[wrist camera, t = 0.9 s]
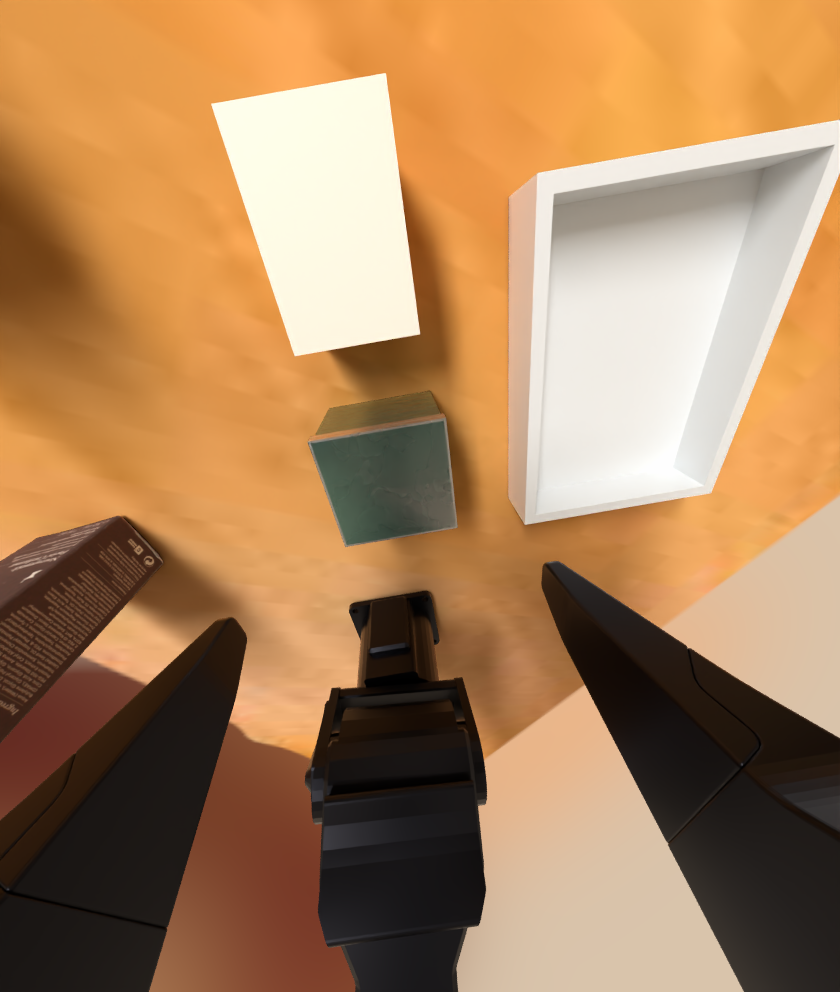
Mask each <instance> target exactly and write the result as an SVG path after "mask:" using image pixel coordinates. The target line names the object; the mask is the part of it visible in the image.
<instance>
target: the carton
mask: <svg viewBox="0 0 840 992" xmlns="http://www.w3.org/2000/svg"><path fill="white" fill-rule="evenodd" d="M211 105H212V108H213V111H214V114H215V117H216V120H217V123H218V126H219V129H220V132H221V135H222V138H223V141H224V144H225V147H226V150H227V153H228V156H229V159H230V162H231V165H232V168H233V171H234V174H235V177H236V180H237V183H238V186H239V189H240V192H241V195H242V198H243V201H244V204H245V207H246V210H247V213H248V216H249V219H250V222H251V225H252V228H253V231H254V235H255V238H256V241H257V244H258V247H259V250H260V253H261V256H262V259H263V262H264V265H265V268H266V271H267V274H268V277H269V280H270V283H271V286H272V289H273V292H274V295H275V298H276V301H277V304H278V307H279V310H280V313H281V316H282V319H283V322H284V325H285V328H286V331H287V334H288V337H289V340H290V343H291V346H292V349H293V352H294V355H295V356H298V355H304V354H310V353H315V352H321V351H327V350H333V349H338V348H344V347H350V346H356V345H361V344H367V343H373V342H379V341H384V340H390V339H396V338H402V337H407V336H413V335H419V334H420V330H419V322H418V314H417V307H416V299H415V292H414V284H413V276H412V269H411V261H410V254H409V246H408V239H407V231H406V223H405V216H404V208H403V201H402V193H401V185H400V178H399V170H398V163H397V155H396V147H395V140H394V132H393V125H392V117H391V109H390V102H389V94H388V87H387V79H386V73H384V74H378V75H372V76H367V77H361V78H355V79H350V80H344V81H338V82H333V83H327V84H322V85H316V86H310V87H305V88H299V89H293V90H288V91H282V92H276V93H271V94H265V95H259V96H254V97H248V98H242V99H237V100H231V101H225V102H220V103H214V104H211Z"/></svg>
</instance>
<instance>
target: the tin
mask: <svg viewBox="0 0 840 992" xmlns="http://www.w3.org/2000/svg"><path fill="white" fill-rule="evenodd" d="M308 444H309V447H310V450H311V453H312V455H313V458H314V461H315V464H316V467H317V469H318V472H319V475H320V478H321V480H322V483H323V486H324V489H325V492H326V494H327V497H328V500H329V503H330V505H331V508H332V511H333V514H334V517H335V519H336V522H337V525H338V528H339V530H340V533H341V536H342V539H343V542H344V544H345V547H348V546H354V545H360V544H365V543H371V542H377V541H383V540H389V539H395V538H401V537H407V536H412V535H418V534H424V533H430V532H436V531H442V530H448V529H453V528H458V526H457V517H456V508H455V498H454V489H453V479H452V470H451V460H450V451H449V441H448V432H447V422H446V417H445V415H444V413H443V414H441V413H440V411H439V409H438V407H437V405H436V402H435V400H434V398H433V396H432V394H431V392H430V391H426V392H420V393H415V394H409V395H403V396H397V397H391V398H386V399H380V400H374V401H368V402H363V403H357V404H351V405H345V406H339V407H334V408H329V410H328V412H327V414H326V416H325V418H324V419H323V421H322V423H321V425H320V427H319V429H318V431H317V433H316V435H315V436H310V438H309V440H308Z"/></svg>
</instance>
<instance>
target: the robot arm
mask: <svg viewBox="0 0 840 992" xmlns="http://www.w3.org/2000/svg"><path fill="white" fill-rule="evenodd" d="M541 584H542V589H543V592H544V595H545V597H546V600H547V603H548V605H549V608H550V610H551V613H552V615H553V618H554V621H555V623H556V626H557V628H558V631H559V633H560V636H561V638H562V641H563V643H564V645H565V647H566V649H567V651H568V653H569V655H570V657H571V659H572V661H573V662H574V664H575V666H576V668H577V670H578V672H579V674H580V676H581V678H582V680H583V682H584V684H585V686H586V688H587V689H588V691H589V693H590V695H591V697H592V699H593V701H594V703H595V705H596V706H597V709H598V710H599V712H600V715H601V716H602V718H603V720H604V722H605V724H606V726H607V728H608V730H609V732H610V734H611V735H612V737H613V740H614V741H615V743H616V745H617V747H618V749H619V751H620V753H621V755H622V757H623V759H624V761H625V763H626V765H627V767H628V768H629V770H630V772H631V774H632V776H633V778H634V780H635V782H636V784H637V786H638V788H639V790H640V792H641V794H642V795H643V797H644V799H645V801H646V803H647V805H648V807H649V809H650V811H651V813H652V815H653V816H654V819H655V820H656V822H657V824H658V826H659V828H660V830H661V832H662V834H663V836H664V838H665V840H666V841H667V842H668V846H669V848H670V850H671V852H672V853H673V856H674V857H675V860H676V861H677V863H678V865H679V867H680V869H681V871H682V873H683V875H684V877H685V879H686V881H687V883H688V884H689V887H690V888H691V890H692V892H693V894H694V896H695V898H696V900H697V902H698V904H699V906H700V908H701V910H702V912H703V913H704V915H705V917H706V919H707V921H708V923H709V925H710V927H711V929H712V931H713V933H714V935H715V937H716V939H717V940H718V942H719V944H720V946H721V948H722V950H723V952H724V954H725V956H726V958H727V960H728V962H729V964H730V966H731V968H732V969H733V971H734V973H735V975H736V977H737V979H738V981H739V983H740V985H741V987H742V989H743V991H744V992H840V738H839V737H837V736H835V735H833V734H832V733H830V732H828V731H826V730H825V729H823V728H821V727H819V726H818V725H816V724H814V723H812V722H811V721H809V720H807V719H806V718H804V717H802V716H800V715H799V714H797V713H795V712H793V711H792V710H790V709H788V708H787V707H784V706H783V705H781V704H779V703H778V702H776V701H774V700H773V699H771V698H769V697H768V696H766V695H764V694H762V693H761V692H759V691H757V690H756V689H754V688H752V687H751V686H749V685H747V684H745V683H744V682H742V681H740V680H739V679H737V678H736V677H734V676H732V675H731V674H729V673H728V672H726V671H725V670H723V669H722V668H720V667H718V666H717V665H715V664H714V663H712V662H711V661H709V660H708V659H706V658H705V657H703V656H701V655H699V654H698V653H697V652H695V651H694V650H692V649H691V648H687V646H686V645H684V644H683V643H682V642H680V641H679V640H677V639H675V638H674V637H673V636H671V635H669V634H668V633H666V632H665V631H664V630H662V629H660V628H659V627H657V626H656V625H654V624H653V623H651V622H650V621H648V620H647V619H645V618H644V617H642V616H641V615H639V614H638V613H636V612H635V611H633V610H632V609H630V608H629V607H627V606H626V605H624V604H623V603H621V602H620V601H618V600H617V599H615V598H614V597H612V596H611V595H609V594H608V593H606V592H605V591H603V590H602V589H600V588H599V587H597V586H596V585H594V584H593V583H591V582H589V581H588V580H586V579H585V578H583V577H582V576H580V575H579V574H577V573H576V572H574V571H573V570H571V569H570V568H568V567H567V566H565V565H564V564H562V563H561V562H559V561H553V562H547V563H544V564H543V568H542V582H541ZM424 597H425V598H424ZM349 613H350V616H351V618H352V620H353V623H354V625H355V628H356V630H357V633H358V635H359V637H360V640H361V644H360V657H359V670H358V683H357V688H345V689H341V688H340V687H339V688H332V689H331V694H330V698H329V701H327V702H326V704H325V709H324V715H323V719H322V723H321V727H320V731H319V736H318V740H317V744H316V746H315V749H314V752H313V755H312V757H311V760H310V763H309V766H308V769H307V771H306V775H305V785H306V787H307V788H308V789H309V791H310V792H311V802H312V818H313V822H314V823H315V824H322V835H321V838H322V839H321V859H320V860H321V861H320V893H319V904H318V914H319V919H320V923H321V926H322V930H323V934H324V938H325V941H326V944H327V946H328V947H329V948H330V947H337V946H341V947H342V950H343V952H344V955H345V958H346V960H347V963H348V965H349V967H350V970H351V973H352V975H353V978H354V980H355V985H356V991H355V992H458V985H457V971H456V967H457V963H458V959H459V956H460V952H461V949H462V945H463V942H464V939H465V935H466V931H467V928H468V927H475V926H478V925H479V923H480V920H481V915H482V910H483V904H484V899H485V893H486V885H485V877H484V860H483V852H482V841H481V833H480V832H481V831H480V822H479V813H478V806H479V805H485V804H486V800H487V784H486V774H485V766H484V759H483V753H482V748H481V743H480V738H479V735H478V731H477V727H476V724H475V720H474V717H473V713H472V710H471V706H470V703H469V699H468V696H467V692H466V689H465V685H464V682H463V678H462V677H460V678H454V680H442V681H439V678H438V670H437V663H436V656H435V648H434V645H436V644H438V643H439V634H438V629H437V624H436V619H435V613H434V608H433V603H432V598H431V594H430V592H428V591H422V592H416V593H410V594H404V595H398V596H392V597H387V598H381V599H375V600H369V601H363V602H357V603H353V604H351V605H350V607H349ZM246 644H247V636H246V633H245V632H244V630H243V629H242V627H241V626H240V625H239V623H238V622H237V620H236V619H235V618H233V617H228V618H222V619H219V620H217V621H215V622H214V623H213V624H212V625H211V626H210V627H209V628H208V629H207V630H205V631H204V632H203V633H202V634H201V635H200V636H199V637H198V638H197V639H196V640H195V641H194V642H193V643H192V644H190V645H189V646H188V647H187V648H186V649H185V650H184V651H183V652H182V653H181V654H180V655H179V656H178V657H177V658H176V659H174V660H173V661H172V662H171V663H170V664H169V665H168V666H167V667H166V668H165V669H164V670H163V671H162V672H161V673H159V674H158V675H157V676H156V677H155V678H154V679H153V680H152V681H151V682H150V683H149V684H148V685H147V686H146V687H144V688H143V689H142V690H141V691H140V692H139V693H138V694H137V695H136V696H135V697H134V698H133V699H132V700H131V701H130V702H128V704H126V705H125V706H124V707H123V708H122V709H121V710H120V711H119V712H118V713H117V714H116V715H114V716H113V717H112V718H111V719H110V720H109V721H108V722H107V723H106V724H105V725H104V726H103V727H102V728H101V729H100V730H99V731H98V732H96V733H95V734H94V735H93V736H92V737H91V738H90V739H89V740H88V741H87V742H86V743H85V744H84V745H82V746H81V747H80V748H79V749H78V750H77V752H76V753H75V754H73V755H72V756H70V757H69V758H68V759H67V760H66V761H65V762H64V763H63V764H62V765H61V766H60V767H59V768H58V769H57V770H56V771H55V772H53V773H52V774H51V775H50V776H49V777H48V778H47V779H46V780H45V781H44V782H43V783H41V784H40V785H39V786H38V787H37V788H36V789H35V790H34V791H33V792H32V793H31V794H30V795H28V796H27V797H26V798H25V799H24V800H23V801H22V802H20V803H19V804H18V805H17V806H16V807H15V808H14V809H13V810H11V811H10V812H9V813H8V814H7V815H6V816H5V817H4V818H2V819H1V820H0V992H149V990H150V986H151V983H152V979H153V976H154V973H155V969H156V966H157V963H158V959H159V956H160V952H161V949H162V946H163V942H164V939H165V936H166V932H167V927H168V925H169V921H170V918H171V915H172V911H173V908H174V905H175V901H176V898H177V894H178V891H179V887H180V884H181V881H182V877H183V874H184V871H185V867H186V864H187V861H188V857H189V854H190V851H191V847H192V844H193V840H194V837H195V834H196V830H197V827H198V823H199V820H200V817H201V813H202V810H203V807H204V803H205V800H206V797H207V793H208V790H209V787H210V783H211V780H212V776H213V773H214V770H215V767H216V763H217V759H218V756H219V753H220V750H221V746H222V743H223V740H224V736H225V733H226V730H227V726H228V723H229V719H230V716H231V713H232V709H233V706H234V702H235V698H236V694H237V690H238V685H239V680H240V675H241V670H242V665H243V659H244V654H245V649H246Z"/></svg>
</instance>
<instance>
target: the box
mask: <svg viewBox="0 0 840 992" xmlns="http://www.w3.org/2000/svg"><path fill="white" fill-rule="evenodd" d="M162 565H163V561H162V559H161V557H160V555H159V554H158V552H156V551H155V550H154V549H153V548H152V547H151V546H150V544H149V543H148V542H147V541H146V540H145V539H144V538H143V537H142V536H141V535H140V534H139V533H138V532H137V531H136V530H135V529H134V528H133V527H132V526H131V525H130V524H129V523H128V522H127V521H126V520H125V519H123V518H122V517H121V516H116V517H112V518H109V519H106V520H102V521H99V522H96V523H92V524H89V525H85V526H81V527H78V528H75V529H71V530H68V531H64V532H61V533H56V534H52V535H48V536H43V537H38V538H36V539H35V540H33V541H32V542H30V543H29V544H27V545H25V546H24V547H22V548H21V549H19V550H18V551H16V552H15V553H13V554H11V555H10V556H8V557H6V558H5V559H3V560H2V561H0V743H1V742H2V741H3V740H4V739H5V737H6V736H7V735H8V734H9V733H10V732H11V731H12V730H13V728H14V727H15V726H16V725H17V724H18V723H19V722H20V721H21V720H22V718H24V717H25V715H26V714H27V713H28V712H29V711H30V710H31V709H32V708H33V706H34V705H35V704H36V703H37V702H38V701H39V700H40V699H41V698H42V697H43V695H44V694H45V693H46V692H47V691H48V690H49V689H50V688H51V687H52V686H53V684H54V683H55V682H56V681H57V680H58V679H59V678H60V677H61V676H62V675H63V674H64V672H65V671H66V670H67V669H68V668H69V667H70V666H71V665H72V664H73V662H74V661H75V660H76V659H77V658H78V657H79V656H80V655H81V654H82V653H83V652H84V650H85V649H86V648H87V647H88V646H89V645H90V644H91V643H92V642H93V640H94V639H95V638H96V637H97V636H98V635H99V634H100V633H101V632H102V630H103V629H104V628H105V627H106V626H107V625H108V624H109V623H110V622H111V621H112V619H113V618H114V617H115V616H116V615H117V614H118V613H119V612H120V611H121V610H122V609H123V608H124V606H125V605H126V604H127V603H128V602H129V601H130V600H131V599H132V598H133V597H134V595H135V594H136V593H137V592H138V591H139V590H140V589H141V588H142V587H143V586H144V584H145V583H146V582H147V581H148V580H149V579H150V578H151V577H152V576H153V574H154V573H155V572H156V571H157V570H158V569H159V568H160V567H161V566H162Z"/></svg>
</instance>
